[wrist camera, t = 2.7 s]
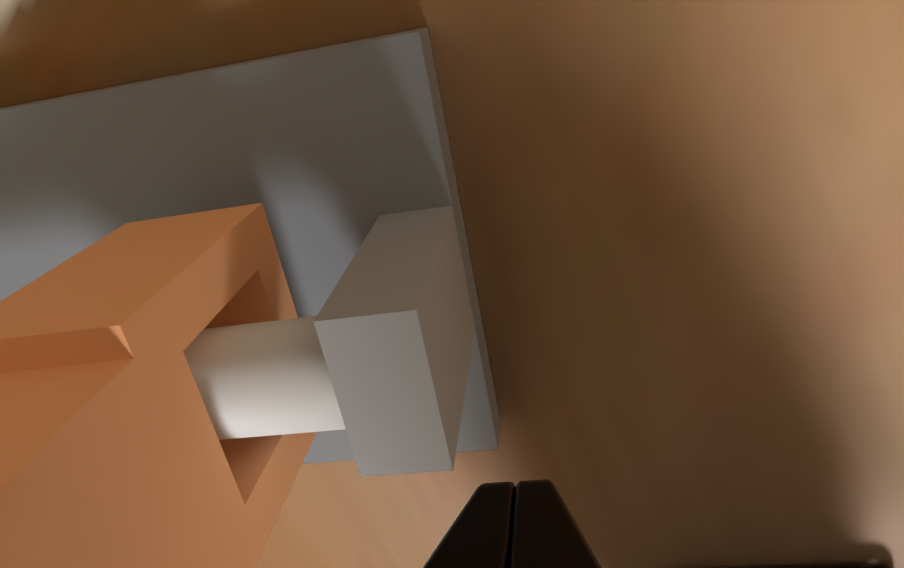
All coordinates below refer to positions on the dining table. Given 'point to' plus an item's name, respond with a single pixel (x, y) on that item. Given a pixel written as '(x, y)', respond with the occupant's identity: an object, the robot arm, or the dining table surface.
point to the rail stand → (287, 238)
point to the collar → (138, 402)
